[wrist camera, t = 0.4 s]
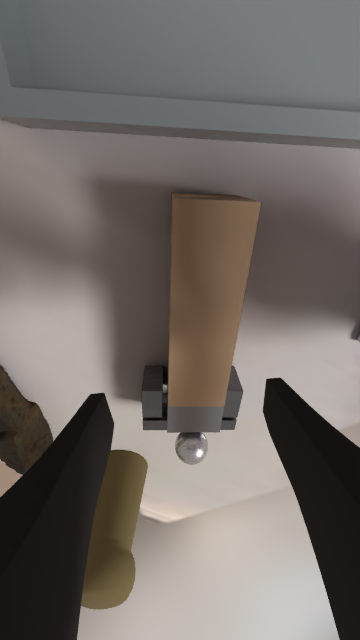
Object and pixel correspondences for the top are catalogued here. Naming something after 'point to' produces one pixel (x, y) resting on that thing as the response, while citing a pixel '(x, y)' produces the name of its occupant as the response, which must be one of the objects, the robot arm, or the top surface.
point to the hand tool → (20, 428)
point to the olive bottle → (114, 532)
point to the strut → (205, 303)
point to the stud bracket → (155, 413)
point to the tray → (185, 68)
